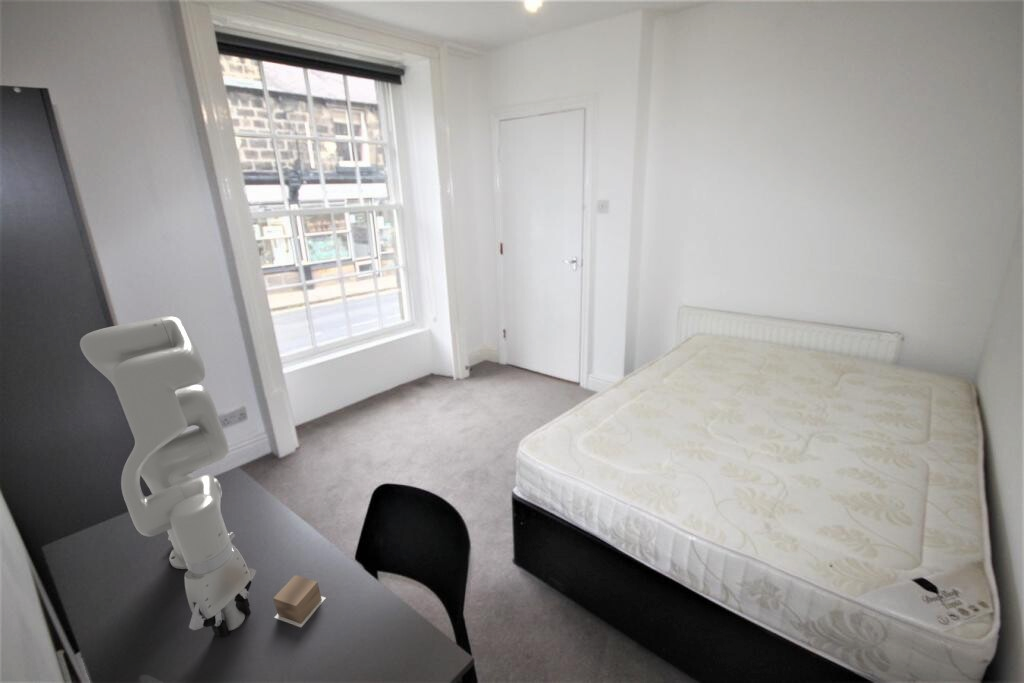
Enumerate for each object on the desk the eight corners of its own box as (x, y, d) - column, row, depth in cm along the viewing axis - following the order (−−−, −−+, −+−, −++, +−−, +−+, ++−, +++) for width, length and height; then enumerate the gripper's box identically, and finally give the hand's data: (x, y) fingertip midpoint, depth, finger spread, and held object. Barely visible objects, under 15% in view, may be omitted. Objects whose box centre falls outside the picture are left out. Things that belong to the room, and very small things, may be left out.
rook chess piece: (236, 637, 91) (225, 608, 89) (217, 634, 92) (206, 605, 90) (252, 617, 96) (242, 589, 93) (233, 614, 96) (224, 586, 94)
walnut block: (278, 615, 94) (273, 598, 93) (299, 592, 100) (295, 574, 98) (301, 623, 92) (296, 606, 91) (321, 599, 98) (317, 581, 96)
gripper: (233, 521, 96) (254, 585, 102) (151, 585, 81) (181, 656, 88) (260, 528, 94) (279, 594, 100) (180, 596, 79) (209, 668, 85)
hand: (233, 622), depth 94 cm, fingers closed on rook chess piece, 4 cm apart
